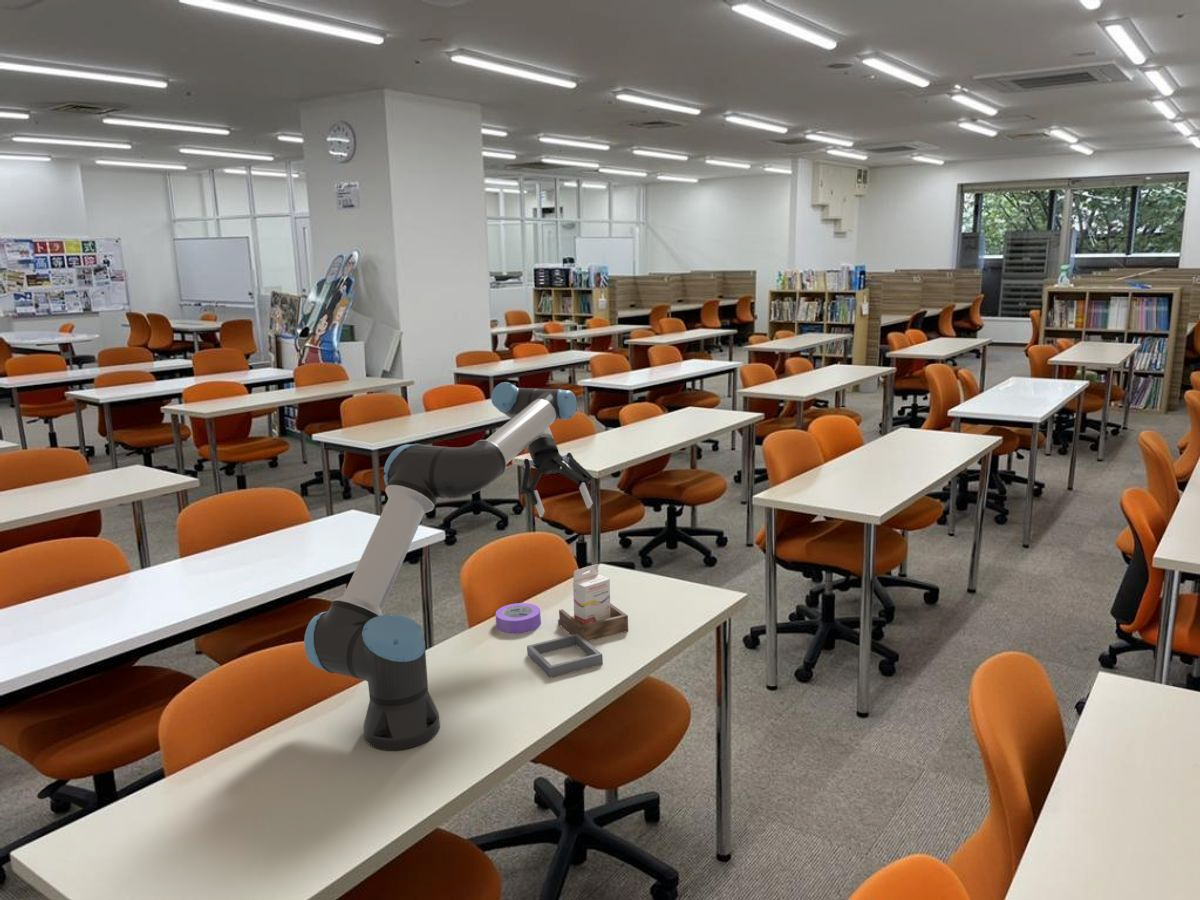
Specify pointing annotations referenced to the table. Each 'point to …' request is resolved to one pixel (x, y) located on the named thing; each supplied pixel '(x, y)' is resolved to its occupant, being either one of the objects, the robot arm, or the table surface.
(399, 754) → the table surface
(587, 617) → the ink cartridge box
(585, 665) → the socket
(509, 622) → the masking tape
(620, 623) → the wooden tray
